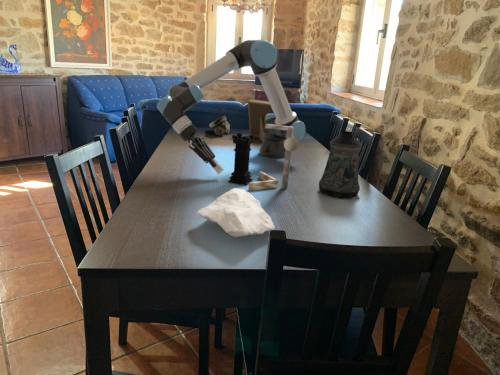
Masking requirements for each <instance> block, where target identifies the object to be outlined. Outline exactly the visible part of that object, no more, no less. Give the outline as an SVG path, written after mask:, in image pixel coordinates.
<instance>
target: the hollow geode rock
mask: <svg viewBox="0 0 500 375" xmlns="http://www.w3.org/2000/svg"><path fill="white" fill-rule="evenodd" d="M208 126H209V128H211V129H212V128H213V133H214V134H215V135H216V136H218V137H222V136H225V135H226V133H228V134H229V133H230V130H231V128H230V127H231V124H230V123H229V122H228V121H227V116H226V114H223V115H222V116H219V117H218V118H216V119H214V121H212V122H210V123H209V125H208Z"/></svg>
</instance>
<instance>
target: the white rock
mask: <svg viewBox="0 0 500 375" xmlns="http://www.w3.org/2000/svg"><path fill="white" fill-rule="evenodd" d="M196 213H197V215H199V216H200V217H202V218H203V219H206V220H208V221H210V222H212V223H215V224H218V225H219V226H220V228H222V230H223V231H224V232H225V233H227V234H228V235H229V236H231V237H234V238H235V237H237V238H238V237H245V236H246V237H247V236H248V235H250V236H253V235H255V236H256V235H263V234H264V233H265V232H269V231H270V230H273V231H274V230H275V228H276V226H275V225H274V221H272V217H271V216H270V215H269V214H268V212H266V211H265V209H264V208H262V205H261V202H260V200H259V199H256V198H255V196H253V195H252V193H250V192H249V191H247V190H245V189H243V188H237V187H234V188H230V190H228V191H226V192H224V193H223V194H221V195H220V196H217V197H216V199H215V200H213V201H212V202H211V203H210V204H208V205H207V206H204V207H202V208H201V209H199V210H198V211H197V212H196ZM270 232H271V231H270Z"/></svg>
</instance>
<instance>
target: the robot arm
mask: <svg viewBox="0 0 500 375" xmlns="http://www.w3.org/2000/svg"><path fill="white" fill-rule="evenodd" d="M277 58H278V51H277V48H276V46H275V45H274V43H272V42H271V41H269V40H265V39H257V40H256V39H254V40H252V39H247V40H243V41H242V42H241V43H238V44H237V45H235V46H234V47H232V48H230V49H229V50H227V51H226V52H225V55H224V56H222V57H220V58H219V59H217V60H216V61H214V62H213V63H210V64H209V65H208V66H206V67H205V68H203V69H201V70H200V71H198V72H196V73H195V74H194V75H191V76H189V77H188V78H187V79H185V80H183V81H182V82H180V83H179V84H174V85H171V86H170V87H169V88H168V90H167V95H166V96H163V97H161V99H159V100H158V102H157V104H156V108H157V110H158V111H159V112H160V113H161V116H163V117H164V119H165V120H166V121H167V122H168V123H169V124H170V125H171V127H172V128H173V130H174V131H175V132H176V133H177V134H179V137H180V138H181V139H182V141H183V142H188V143H189V145H188V148H189V149H190V150H192V151H193V152H194V153H195V154H197V156H198V157H199V158H200V159H201V160H202V161H203V162H204V163H205V164H209V165H210V166H211V167H212V169H213V170H214V171H215V172H216V173H217V174H218V175H219V174H221V173H222V172H223V171H224V170H225V169H224V168H223V167H222V166H221V165H220V164H219V162H218V160H217V159H216V157H217V156H216V154H215V153H214V152H213V150H212V148H211V147H210V146H209V145H208V142H207V141H206V138H204V137H202V138H201V136H200V135H198V134H197V133H198V131H199V130H198V128H197V127H196V126H195V124H193V123H192V121H191V120H190V119H189V117H188V116H187V115H186V114H185V113H186V112H187V111H189V109H191V108H192V107H194V106H195V105H197V104H198V103H199V102H201V100H203V99H204V93H203V91H202V90H204V89H205V88H207V87H208V86H210V85H212V84H214V83H215V82H217V81H218V80H220V79H221V78H224V76H226V75H227V74H229V73H230V72H232V71H239V69H242V68H245V67H250V68H251V70H252V73H253V75H254V76H256V77H258V78H259V82H260V84H261V85H262V88H263V92H264V93H265V95H266V97H267V100H268V102H270V105H271V107H272V109H273V112H274V114H267V115H266V117H265V126H264V128H265V127H266V124H272V125H281V126H292V127H294V130H293V137H294V138H296V139H297V141H298V143H299V142H301V140H302V139H303V138H304V136H305V133H306V125H305V123H304V121H301V120H300V119H299V117H298V115H297V113H296V112H295V111H292V108H291V106H290V103H289V101H288V98H287V96H286V92H285V90H284V88H283V85H282V83H281V79H280V77H279V75H278V73H277V70H276V68H277V67H278V66H277V65H278V64H277V60H278V59H277ZM286 139H287V130H278V129H269V128H267V133H264V139H263V141H262V143H261V145H260V148H259V152H258V154H259V156H262V157H267V158H270V159H271V158H272V159H281V158H285V148H284V141H285V140H286Z"/></svg>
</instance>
